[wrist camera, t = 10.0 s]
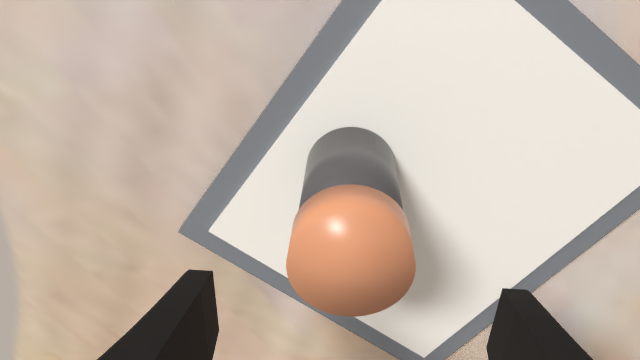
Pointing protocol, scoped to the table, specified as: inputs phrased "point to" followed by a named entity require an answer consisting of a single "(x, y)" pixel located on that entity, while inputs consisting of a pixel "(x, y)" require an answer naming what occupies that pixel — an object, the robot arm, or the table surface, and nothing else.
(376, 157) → the orange-topped grey cylinder
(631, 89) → the writing pad
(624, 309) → the table surface
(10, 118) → the table surface
